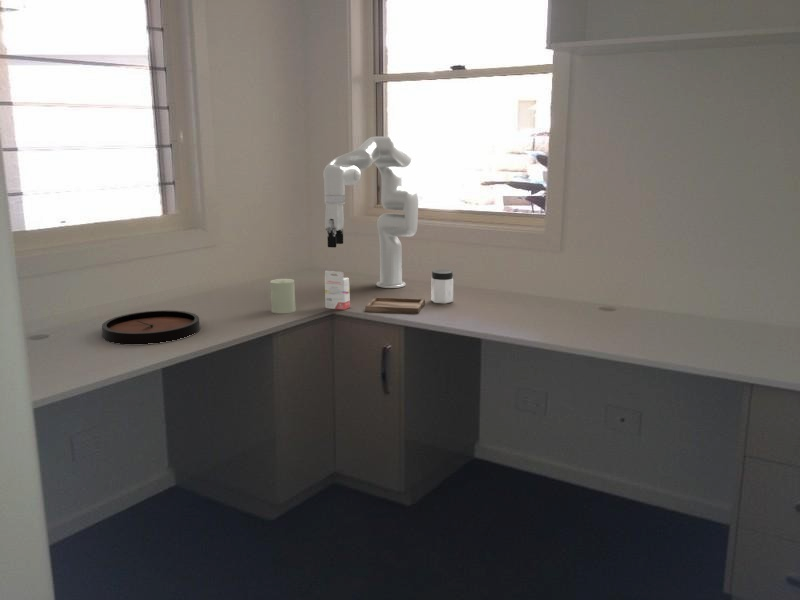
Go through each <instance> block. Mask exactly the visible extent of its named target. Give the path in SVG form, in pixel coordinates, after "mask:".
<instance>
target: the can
mask: <svg viewBox="0 0 800 600" xmlns="http://www.w3.org/2000/svg"><path fill="white" fill-rule="evenodd" d="M269 285H270V302H271V304H270V305H271V307H270V308H271V310H270V312H271V313H273V314H277V315H279V314H280V315H286V314H292V313H294V312H296V311H297V309H296V295H295V294H296V292H295V279H292V278H276V279H271V280H270V281H269Z"/></svg>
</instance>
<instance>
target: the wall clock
mask: <svg viewBox="0 0 800 600" xmlns="http://www.w3.org/2000/svg"><path fill="white" fill-rule="evenodd" d="M199 329H201V325H200V317H199V315H197V314H196V313H194V312H189V311H185V310H184V311H183V310H170V309H168V310H167V309H165V310H148V311H147V310H146V311H139V312H131V313H127V314H124V315H123V314H122V315H118V316H116V317H113V318H109V319H107V320H105V321H104V322H103V323H102V324H101V334H102V339H103V338H104V339H105V340H104V339H103V340H104V341H106V342H108V341H109V342H108V343H111V342H114V343H113V344H116V343H120V344H119V345H124V344H148V343H158V344H161V343H160V342H166V341H171V342H173V341H172V340H176V341H178V340H177V339H180V338H184V337H187V336H189V335H192V334H194V333H196V332H197V331H198V330H199ZM199 331H200V330H199ZM199 331H198V332H199ZM198 332H197V333H198ZM197 333H196V334H197ZM194 335H195V334H194ZM192 336H193V335H192ZM187 338H188V337H187ZM184 339H185V338H184ZM180 340H181V339H180ZM166 343H167V342H166ZM148 345H149V344H148Z"/></svg>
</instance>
